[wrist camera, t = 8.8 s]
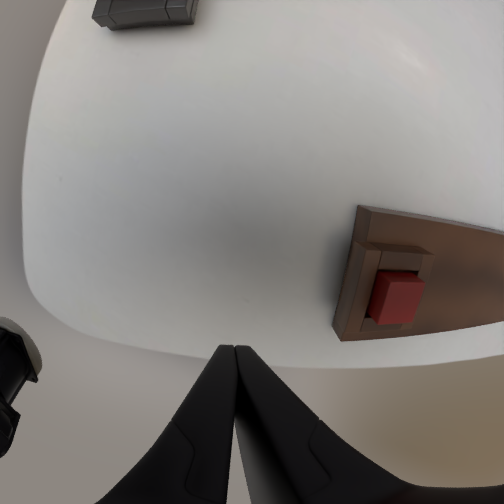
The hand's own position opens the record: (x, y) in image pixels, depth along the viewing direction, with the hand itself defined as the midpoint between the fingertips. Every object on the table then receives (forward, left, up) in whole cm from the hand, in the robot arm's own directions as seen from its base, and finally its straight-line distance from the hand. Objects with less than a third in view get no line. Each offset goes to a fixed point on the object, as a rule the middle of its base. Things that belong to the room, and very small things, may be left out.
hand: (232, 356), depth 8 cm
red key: (-2, -11, -9) cm, 14 cm away
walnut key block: (-2, -21, -12) cm, 24 cm away
